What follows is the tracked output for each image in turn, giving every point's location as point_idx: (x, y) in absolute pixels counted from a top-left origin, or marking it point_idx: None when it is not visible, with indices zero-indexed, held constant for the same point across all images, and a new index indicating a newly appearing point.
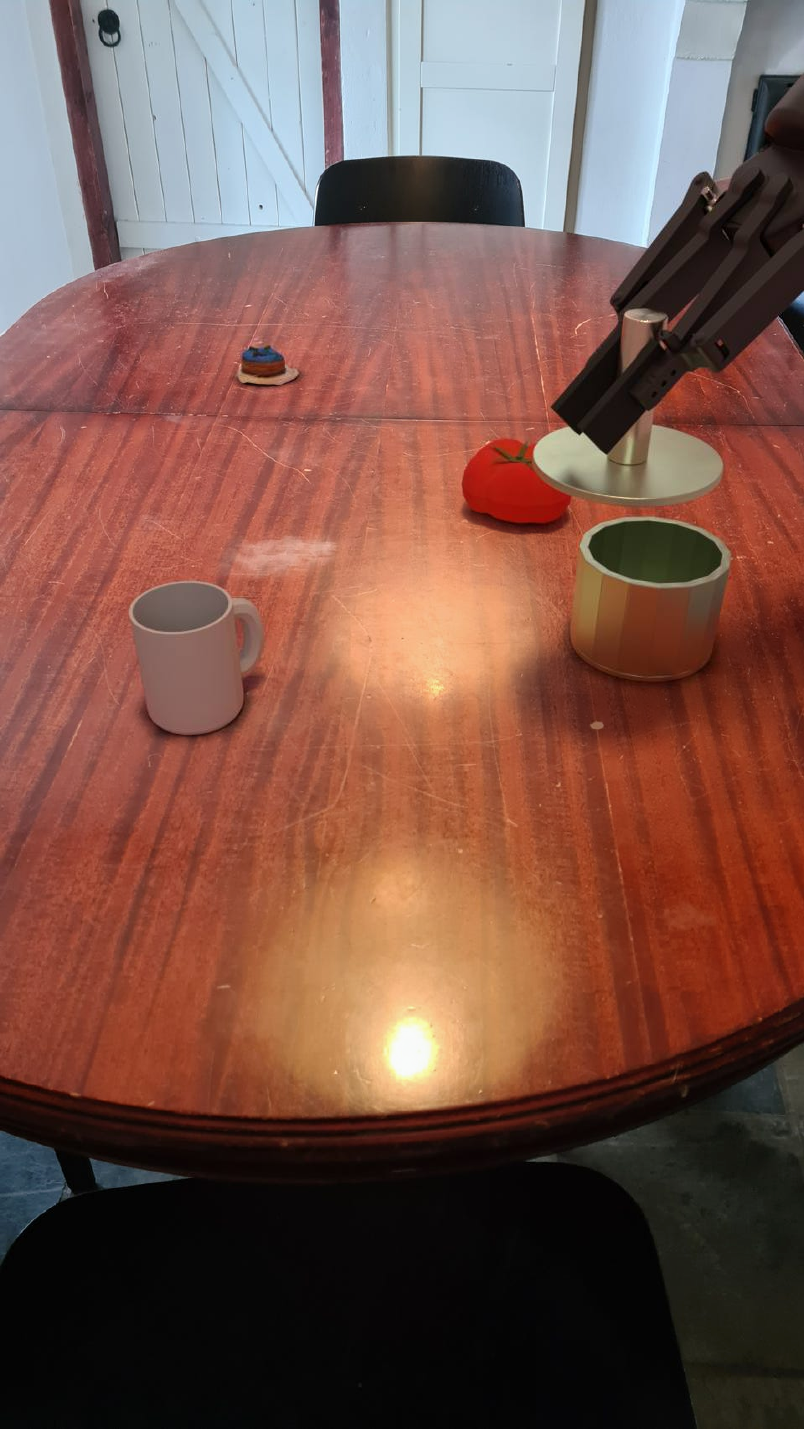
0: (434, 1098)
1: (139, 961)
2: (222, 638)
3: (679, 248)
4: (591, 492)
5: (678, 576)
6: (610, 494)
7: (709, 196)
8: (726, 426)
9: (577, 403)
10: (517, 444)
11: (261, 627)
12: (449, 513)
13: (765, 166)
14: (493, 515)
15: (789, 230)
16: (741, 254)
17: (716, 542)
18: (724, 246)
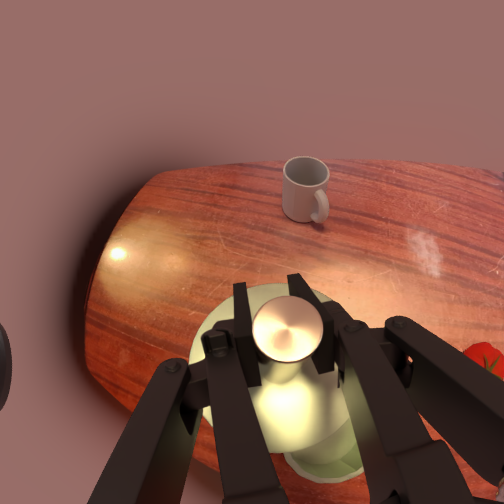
0: (103, 256)
1: (177, 192)
2: (291, 188)
3: (459, 417)
4: (216, 307)
5: (351, 459)
6: (207, 320)
7: None
8: None
9: (292, 295)
10: (500, 372)
11: (321, 214)
12: (468, 342)
13: None
14: None
15: None
16: (231, 483)
17: (336, 478)
18: (381, 493)
